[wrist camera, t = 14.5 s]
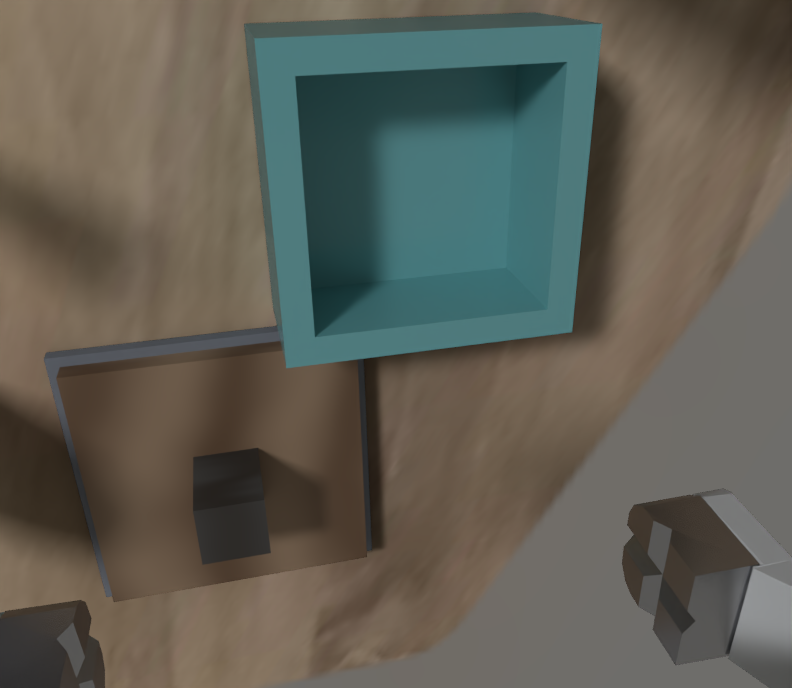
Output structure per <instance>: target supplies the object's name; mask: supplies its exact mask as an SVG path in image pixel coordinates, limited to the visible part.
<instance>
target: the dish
mask: <svg viewBox="0 0 792 688" xmlns="http://www.w3.org/2000/svg"><path fill="white" fill-rule="evenodd" d="M244 27H245V37H246V47H247V57H248V67H249V76H250V86H251V96H252V106H253V116H254V125H255V135H256V145H257V155H258V165H259V174H260V184H261V194H262V204H263V214H264V223H265V233H266V243H267V253H268V263H269V272H270V282H271V292H272V302H273V309H274V314H275V318H276V323H277V327H278V332H279V337H280V341H281V346H282V350H283V355H284V360H285V364H286V368H293V367H301V366H309V365H317V364H325V363H333V362H341V361H349V360H357V359H365V358H372V357H380V356H388V355H396V354H404V353H412V352H420V351H428V350H436V349H443V348H451V347H459V346H467V345H475V344H483V343H491V342H499V341H507V340H515V339H522V338H530V337H538V336H546V335H554V334H562V333H570V332H572V328H573V317H574V307H575V297H576V287H577V277H578V266H579V256H580V246H581V236H582V226H583V215H584V205H585V195H586V185H587V175H588V165H589V154H590V144H591V134H592V124H593V114H594V103H595V93H596V83H597V73H598V63H599V52H600V42H601V32H602V24H601V23H595V22H589V21H583V20H577V19H571V18H565V17H559V16H554V15H548V14H542V13H536V12H535V13H509V14H483V15H457V16H431V17H405V18H379V19H353V20H327V21H301V22H275V23H249V24H244Z"/></svg>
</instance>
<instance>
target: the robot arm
mask: <svg viewBox="0 0 792 688" xmlns="http://www.w3.org/2000/svg"><path fill="white" fill-rule="evenodd" d="M627 525H628V526H629V528H630V529H631V531H632V532H633V533H634V535H633V536H632V538H631V539H630V540H629V541H628V542H627V543H626V545H625V546H624V551H623V559H622V565H623V571H624V576H625V581H626V584H627V586H628V589H629V591H630V593H631V595H632V597H633V599H634V600H635V602H636V603H637V605H638V606H639V607H640V608H642V609H643V610H645V611H647V612H649V613H650V614H652V615H654V616H655V619H654V626H653V631H654V632H655V634H656V635H657V637H658V638H659V640H660V642H661V643H662V645H663V646H664V648H665V649H666V651H667V653H668V654H669V656H670V657H671V659H672V661H673V662H674V664H675V665H680V664H686V663H691V662H697V661H703V660H708V659H714V658H719V657H724V656H729V657H728V659H729V660H731V661H732V662H733V663H735V664H736V665H738V666H739V667H741V668H742V669H743V670H745V671H746V672H748V673H749V674H750V675H752V676H753V677H755V678H756V679H758V680H759V681H760V682H762V683H763V684H765V685H766V686H767V687H769V688H792V557H791V556H790V555H789V554H788V552H787V551H786V550H785V549H784V548H783V547H782V546H781V545H780V544H779V543H778V542H777V541H776V540H775V539H774V537H773V536H772V535H771V534H770V533H769V532H768V531H767V530H766V529H765V528H764V527H763V526H762V524H761V523H760V522H759V521H758V520H757V519H756V518H755V517H754V516H753V515H752V514H751V513H750V512H749V511H748V509H747V508H746V507H745V506H744V505H743V504H742V503H741V502H740V501H739V500H738V499H737V498H736V497H735V496H734V494H733V493H731V492H730V491H727V490H726V489H718V490H713V491H707V492H702V493H697V494H693V495H687V496H681V497H675V498H670V499H664V500H658V501H653V502H648V503H642V504H637V505H634V506H633V508H632V509H631V511H630V513H629V518H628V524H627ZM90 624H91V616H90V613H89V610H88V608H87V605H86V602H85V601H82V600H77V601H70V602H63V603H56V604H50V605H43V606H36V607H29V608H22V609H16V610H9V611H5V612H1V613H0V688H105V668H104V661H103V655H102V651H101V648H100V644H99V641H98V640H96V639H94V638H93V637H91V636H89V630H90Z"/></svg>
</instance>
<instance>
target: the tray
mask: <svg viewBox="0 0 792 688" xmlns="http://www.w3.org/2000/svg"><path fill="white" fill-rule="evenodd" d="M276 341H280V337H279V332H278V327H277V326H273V327H265V328H256V329H247V330H239V331H230V332H221V333H213V334H204V335H195V336H187V337H178V338H169V339H161V340H152V341H143V342H135V343H126V344H117V345H109V346H100V347H91V348H83V349H74V350H65V351H57V352H48V353H46V355H45V357H44V361H45V365H46V369H47V373H48V377H49V380H50V384H51V388H52V392H53V396H54V399H55V403H56V407H57V411H58V415H59V418H60V422H61V426H62V430H63V434H64V437H65V441H66V445H67V449H68V453H69V456H70V460H71V464H72V468H73V472H74V475H75V479H76V483H77V487H78V491H79V494H80V498H81V502H82V506H83V510H84V513H85V517H86V521H87V525H88V529H89V532H90V536H91V540H92V544H93V548H94V551H95V555H96V559H97V563H98V567H99V570H100V574H101V578H102V582H103V586H104V589H105V593H106V597H110V596H112V593H111V589H110V585H109V581H108V577H107V574H106V570H105V566H104V562H103V558H102V554H101V550H100V546H99V543H98V539H97V535H96V531H95V527H94V523H93V519H92V515H91V512H90V508H89V504H88V500H87V496H86V492H85V488H84V484H83V481H82V477H81V473H80V469H79V465H78V461H77V457H76V453H75V450H74V446H73V442H72V438H71V434H70V430H69V426H68V422H67V419H66V415H65V411H64V407H63V403H62V399H61V395H60V391H59V388H58V384H57V380H56V377H57V374H58V371H59V368H60V367H66V366H74V365H83V364H91V363H100V362H108V361H116V360H125V359H133V358H142V357H150V356H158V355H167V354H175V353H183V352H192V351H200V350H209V349H217V348H225V347H234V346H242V345H250V344H259V343H267V342H276ZM358 377H359V398H360V420H361V441H362V462H363V483H364V504H365V525H366V546H367V551H370V550H372V541H371V518H370V495H369V472H368V449H367V426H366V403H365V380H364V359H358Z"/></svg>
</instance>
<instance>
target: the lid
mask: <svg viewBox="0 0 792 688" xmlns="http://www.w3.org/2000/svg"><path fill="white" fill-rule="evenodd" d="M56 380H57V384H58V388H59V391H60V395H61V399H62V403H63V407H64V411H65V415H66V419H67V422H68V426H69V430H70V434H71V438H72V442H73V446H74V450H75V453H76V457H77V461H78V465H79V469H80V473H81V477H82V481H83V484H84V488H85V492H86V496H87V500H88V504H89V508H90V512H91V515H92V519H93V523H94V527H95V531H96V535H97V539H98V543H99V546H100V550H101V554H102V558H103V562H104V566H105V570H106V574H107V577H108V581H109V585H110V589H111V593H112V597H113V601H114V602H117V601H123V600H128V599H134V598H140V597H145V596H151V595H157V594H162V593H168V592H173V591H179V590H185V589H190V588H196V587H201V586H207V585H213V584H218V583H224V582H230V581H235V580H241V579H246V578H252V577H258V576H263V575H269V574H274V573H280V572H286V571H291V570H297V569H302V568H308V567H314V566H319V565H325V564H331V563H336V562H342V561H347V560H353V559H359V558H364V557H367V546H366V525H365V504H364V483H363V462H362V441H361V420H360V398H359V377H358V359H357V360H349V361H341V362H333V363H325V364H317V365H309V366H301V367H293V368H286V364H285V360H284V355H283V350H282V346H281V341H276V342H267V343H259V344H250V345H242V346H234V347H225V348H217V349H209V350H200V351H192V352H183V353H175V354H167V355H158V356H150V357H142V358H133V359H125V360H116V361H108V362H100V363H91V364H83V365H74V366H66V367H60V368H59V371H58V374H57V377H56Z"/></svg>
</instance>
